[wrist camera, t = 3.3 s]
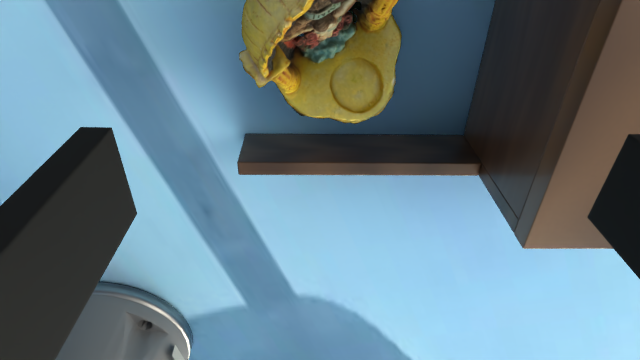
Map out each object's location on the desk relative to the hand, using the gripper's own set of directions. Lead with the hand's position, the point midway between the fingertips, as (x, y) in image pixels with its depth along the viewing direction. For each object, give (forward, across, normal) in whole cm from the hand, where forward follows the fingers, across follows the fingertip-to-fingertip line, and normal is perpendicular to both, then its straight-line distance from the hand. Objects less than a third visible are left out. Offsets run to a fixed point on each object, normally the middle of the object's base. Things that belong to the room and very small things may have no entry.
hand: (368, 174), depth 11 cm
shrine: (+18, 0, 0) cm, 18 cm away
